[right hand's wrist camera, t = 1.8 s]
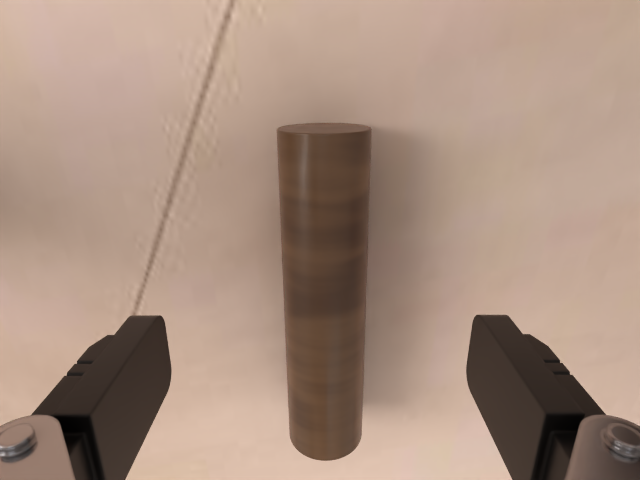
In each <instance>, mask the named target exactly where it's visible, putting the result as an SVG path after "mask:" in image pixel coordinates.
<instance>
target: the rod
mask: <svg viewBox="0 0 640 480" xmlns="http://www.w3.org/2000/svg"><path fill="white" fill-rule="evenodd" d="M277 145H278V169H279V192H280V216H281V240H282V264H283V287H284V311H285V335H286V359H287V382H288V406H289V430H290V439H291V441H292V443H293V445H294V446H295V448H296V449H297V450H298V451H299V452H300V453H302V454H303V455H305V456H307V457H309V458H312V459H316V460H324V461H328V460H336V459H339V458H342V457H344V456H346V455H348V454H350V453H351V452H352V451H353V450H354V449H355V448H356V447H357V446H358V444H359V442H360V440H361V435H362V407H363V376H364V345H365V314H366V283H367V252H368V221H369V190H370V159H371V128H370V127H368V126H364V125H357V124H344V123H311V124H296V125H287V126H282V127H279V128H278V129H277Z"/></svg>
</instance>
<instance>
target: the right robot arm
mask: <svg viewBox="0 0 640 480" xmlns="http://www.w3.org/2000/svg"><path fill="white" fill-rule="evenodd" d="M466 372H467V381H468V386H469V389H470V392H471V394H472V396H473V398H474V400H475V402H476V404H477V406H478V408H479V411H480V413H481V415H482V417H483V419H484V421H485V423H486V425H487V427H488V429H489V431H490V434H491V436H492V438H493V440H494V442H495V444H496V446H497V448H498V450H499V452H500V455H501V457H502V459H503V461H504V463H505V465H506V467H507V469H508V471H509V473H510V475H511V478H512V480H640V426H638V425H636V424H634V423H632V422H630V421H627V420H625V419H622V418H619V417H614V416H609V415H606V414H605V413H604V412H603V411H602V410H601V408H600V407H599V406H598V405H597V404H596V402H595V401H594V400H593V399H592V398H591V396H590V395H589V394H588V393H587V392H586V391H585V389H584V388H583V387H582V386H581V385H580V383H579V382H578V381H577V380H576V379H575V378H574V376H573V375H570V372H569V370H568V369H567V368H566V367H565V366H564V365H563V363H560V360H559V359H558V357H557V356H556V355H555V354H554V353H553V352H552V350H551V349H550V348H549V347H548V346H547V345H545V344H544V343H542V342H541V341H539V340H538V339H536V338H535V337H533V336H532V335H530V334H522V333H521V331H520V330H519V329H518V327H517V326H516V325H515V324H514V322H513V321H512V320H511V319H510V317H509V316H507V315H476V316H475V317H474V320H473V324H472V331H471V338H470V345H469V352H468V359H467V369H466ZM170 381H171V362H170V355H169V348H168V341H167V334H166V327H165V322H164V319H163V317H162V316H130V317H129V318H128V319H127V320H126V321H125V322H124V324H123V325H122V326H121V327H120V329H119V330H118V331H117V332H116V334H115V335H107V336H106V337H104V338H102V339H101V340H99V341H98V342H96V343H95V344H93V345H92V346H90V347H89V348H88V349H87V350H86V351H85V353H84V354H83V355H82V356H81V357H80V358H79V360H78V361H77V364H74V365H73V367H72V368H71V369H70V370H69V371H68V373H67V376H64V377H63V378H62V380H61V381H60V382H59V383H58V384H57V385H56V387H55V388H54V389H53V390H52V391H51V392H50V394H49V395H48V396H47V397H46V398H45V399H44V401H43V402H42V403H41V404H40V405H39V407H38V408H37V409H36V410H35V411H34V412H33V414H32V415H31V416H26V417H21V418H18V419H15V420H13V421H10V422H8V423H6V424H4V425H2V426H0V480H125V479H126V477H127V475H128V473H129V471H130V469H131V466H132V464H133V462H134V460H135V458H136V456H137V454H138V452H139V450H140V448H141V446H142V444H143V442H144V440H145V438H146V435H147V433H148V431H149V429H150V427H151V425H152V423H153V421H154V419H155V417H156V415H157V413H158V411H159V409H160V406H161V404H162V402H163V400H164V398H165V396H166V394H167V392H168V389H169V386H170Z"/></svg>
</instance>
